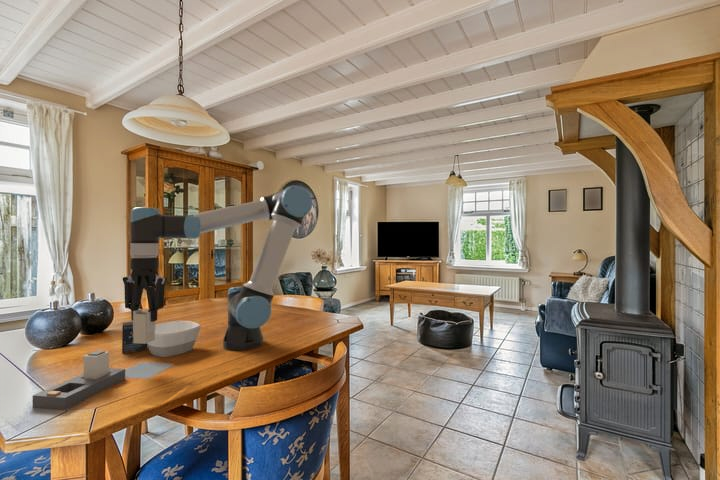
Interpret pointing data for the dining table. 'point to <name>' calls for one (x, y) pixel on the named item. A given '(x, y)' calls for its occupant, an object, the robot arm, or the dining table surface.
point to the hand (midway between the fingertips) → (144, 331)
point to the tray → (146, 370)
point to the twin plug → (141, 329)
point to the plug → (96, 365)
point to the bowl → (174, 338)
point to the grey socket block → (75, 390)
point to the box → (130, 339)
